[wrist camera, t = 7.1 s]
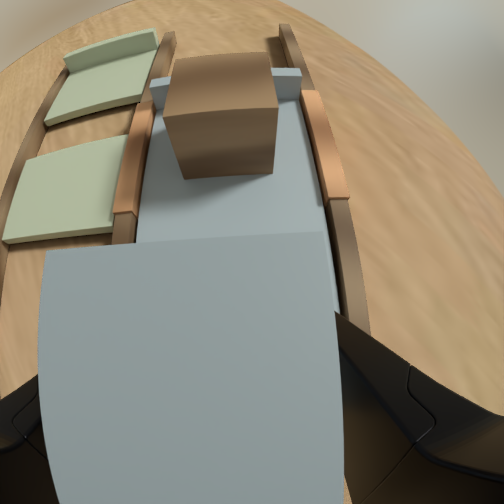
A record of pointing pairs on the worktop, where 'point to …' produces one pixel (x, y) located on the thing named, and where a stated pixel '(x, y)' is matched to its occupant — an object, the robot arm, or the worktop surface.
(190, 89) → the walnut cube
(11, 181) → the lane rails
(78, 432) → the light blue stand
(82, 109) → the broken strip
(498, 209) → the worktop surface
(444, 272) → the worktop surface
